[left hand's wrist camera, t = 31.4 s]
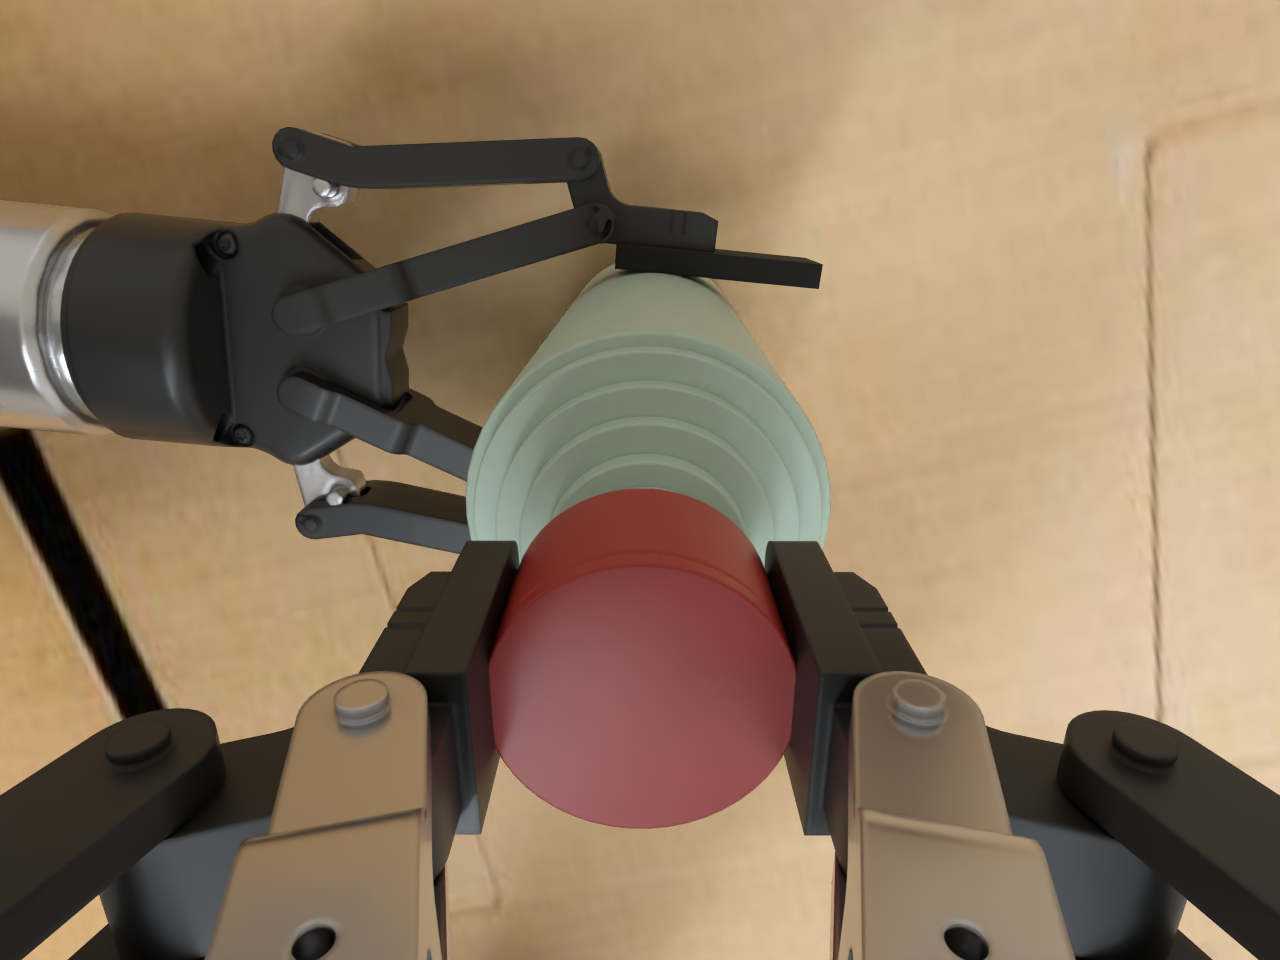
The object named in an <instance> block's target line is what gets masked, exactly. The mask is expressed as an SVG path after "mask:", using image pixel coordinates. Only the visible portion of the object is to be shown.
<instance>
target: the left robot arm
mask: <svg viewBox="0 0 1280 960" xmlns="http://www.w3.org/2000/svg"><path fill="white" fill-rule="evenodd" d="M518 567H519V552H518V546H517V543H516V541H467V542H466V543H465V545H464V547H463V549H462V551H461V553H460V555H459V557H458V559H457V561H456V563H455V565H454V567H453V569H452V571H451V572H430V573H429V574H427V575H426V576H425V577H423V578H422V579H420V580H419V581H418V582H416V583H415V584H413V585H412V586H410V587H409V588H408V589H407V591H406V592H405V594H404V596H403V598H402V599H401V601H400V603H399V605H398V606H397V611H394V613H393V615H392V617H391V618H390V620H389V622H388V626H387V628H385V629H384V630H383V632H382V634H381V636H380V637H379V639H378V641H377V643H376V644H375V646H374V648H373V649H372V651H371V653H370V655H369V656H368V658H367V660H366V662H365V663H364V665H363V667H362V668H361V670H360V672H359V674H355V675H352V676H348V677H345V678H342V679H340V680H337V681H335V682H333V683H330V684H328V685H326V686H325V687H323V688H321V689H320V690H318V691H317V692H316V693H314V694H313V695H312V696H310V697H309V698H308V699H307V701H306V702H305V703H304V704H303V705H302V707H301V708H300V710H299V712H298V715H297V717H296V721H295V725H294V727H293V728H290V729H287V730H283V731H279V732H275V733H271V734H266V735H261V736H256V737H252V738H247V739H242V740H237V741H232V742H227V743H222V744H220V742H219V737H218V733H217V729H216V725H215V722H214V721H213V720H212V718H211V717H209V716H208V715H206V714H205V713H202V712H200V711H197V710H192V709H181V708H175V709H163V710H157V711H152V712H147V713H143V714H140V715H136V716H133V717H130V718H127V719H125V720H122V721H120V722H117V723H115V724H113V725H111V726H109V727H107V728H105V729H103V730H101V731H100V732H98V733H96V734H94V735H93V736H91V737H90V738H88V739H87V740H85V741H83V742H82V743H80V744H79V745H77V746H76V747H74V748H73V749H71V750H70V751H68V752H67V753H65V754H63V755H62V756H60V757H59V758H57V759H56V760H54V761H53V762H51V763H50V764H48V765H47V766H45V767H43V768H42V769H40V770H39V771H37V772H36V773H34V774H33V775H31V776H30V777H28V778H26V779H25V780H23V781H22V782H20V783H19V784H17V785H16V786H14V787H13V788H11V789H10V790H8V791H6V792H5V793H3V794H2V795H0V960H22V959H23V958H24V957H25V956H26V955H28V954H29V953H30V952H31V951H32V950H34V949H35V948H36V947H37V946H38V945H40V944H41V943H42V942H43V941H44V940H45V939H47V938H48V937H49V936H50V935H51V934H53V933H54V932H55V931H56V930H57V929H58V928H60V927H61V926H62V925H63V924H64V923H66V922H67V921H68V920H69V919H70V918H72V917H73V916H74V915H75V914H76V913H77V912H79V911H80V910H81V909H82V908H83V907H85V906H86V905H87V904H88V903H89V902H90V901H92V900H93V899H94V898H95V897H96V896H98V895H99V896H100V899H101V902H102V905H103V908H104V911H105V914H106V917H107V920H108V924H107V925H106V926H105V927H104V928H103V929H102V930H101V931H99V932H98V933H97V934H96V935H95V936H94V937H93V938H92V939H90V940H89V941H88V942H87V943H86V944H85V945H84V946H83V947H81V948H80V949H79V950H78V951H77V952H76V953H75V954H74V955H72V956H71V957H70V958H69V959H68V960H450V930H449V894H448V876H447V867H446V861H447V859H448V856H449V853H450V849H451V846H452V842H453V839H454V835H455V834H481V832H482V828H483V824H484V820H485V816H486V811H487V807H488V803H489V799H490V795H491V791H492V787H493V783H494V779H495V775H496V771H497V767H498V763H499V758H500V754H499V753H498V751H497V749H496V747H495V742H494V730H493V718H492V705H491V693H490V681H489V667H488V660H489V657H490V653H491V650H492V648H493V645H494V641H495V638H496V635H497V632H498V628H499V625H500V622H501V619H502V616H503V613H504V610H505V607H506V604H507V600H508V597H509V594H510V591H511V588H512V585H513V582H514V579H515V576H516V572H517V569H518ZM764 568H765V571H766V574H767V577H768V580H769V583H770V586H771V589H772V592H773V595H774V598H775V601H776V604H777V608H778V611H779V614H780V617H781V620H782V623H783V626H784V629H785V632H786V635H787V638H788V641H789V644H790V648H791V651H792V654H793V657H794V660H795V663H796V678H795V690H794V702H793V714H792V726H791V737H790V743H789V745H788V747H787V749H786V751H785V753H784V757H785V761H786V765H787V769H788V773H789V776H790V780H791V784H792V788H793V792H794V796H795V800H796V804H797V808H798V812H799V816H800V820H801V824H802V828H803V832H804V835H831V838H832V841H833V844H834V848H835V858H834V867H833V876H832V894H831V930H830V960H1212V959H1211V958H1210V957H1209V956H1208V955H1206V954H1205V953H1204V952H1203V951H1202V950H1201V949H1200V948H1199V947H1197V946H1196V945H1195V944H1194V943H1193V942H1192V941H1191V940H1190V939H1188V938H1187V937H1186V936H1185V935H1184V934H1183V933H1182V932H1181V931H1179V930H1178V926H1179V923H1180V920H1181V917H1182V914H1183V911H1184V908H1185V905H1186V902H1187V900H1188V901H1190V902H1191V903H1192V904H1193V905H1194V906H1195V907H1197V908H1198V909H1199V910H1200V911H1201V912H1203V913H1204V914H1205V915H1206V916H1207V917H1209V918H1210V919H1211V920H1212V921H1213V922H1214V923H1216V924H1217V925H1218V926H1219V927H1220V928H1222V929H1223V930H1224V931H1225V932H1226V933H1227V934H1229V935H1230V936H1231V937H1232V938H1233V939H1235V940H1236V941H1237V942H1238V943H1239V944H1240V945H1242V946H1243V947H1244V948H1245V949H1246V950H1248V951H1249V952H1250V953H1251V954H1252V955H1254V956H1255V957H1256V958H1257V959H1258V960H1280V795H1278V794H1277V793H1275V792H1274V791H1272V790H1270V789H1269V788H1267V787H1266V786H1264V785H1263V784H1261V783H1260V782H1258V781H1257V780H1255V779H1254V778H1252V777H1250V776H1249V775H1247V774H1246V773H1244V772H1243V771H1241V770H1240V769H1238V768H1237V767H1235V766H1234V765H1232V764H1230V763H1229V762H1227V761H1226V760H1224V759H1223V758H1221V757H1220V756H1218V755H1217V754H1215V753H1213V752H1212V751H1210V750H1209V749H1207V748H1206V747H1204V746H1203V745H1201V744H1200V743H1198V742H1197V741H1195V740H1193V739H1192V738H1190V737H1189V736H1187V735H1185V734H1184V733H1182V732H1180V731H1178V730H1176V729H1174V728H1172V727H1170V726H1168V725H1166V724H1163V723H1161V722H1158V721H1156V720H1153V719H1150V718H1147V717H1143V716H1140V715H1136V714H1131V713H1126V712H1119V711H1107V710H1103V711H1092V712H1086V713H1083V714H1081V715H1078V716H1077V717H1075V718H1074V719H1072V720H1071V722H1070V723H1069V724H1068V727H1067V731H1066V735H1065V739H1064V743H1063V744H1059V743H1055V742H1050V741H1045V740H1040V739H1035V738H1030V737H1025V736H1021V735H1016V734H1011V733H1007V732H1003V731H1000V730H997V729H994V728H991V727H988V726H986V725H985V721H984V717H983V715H982V712H981V710H980V708H979V707H978V705H977V704H976V703H975V702H974V701H973V699H972V698H971V697H970V696H968V695H967V694H966V693H964V692H963V691H962V690H960V689H959V688H957V687H955V686H954V685H952V684H950V683H947V682H945V681H943V680H940V679H938V678H935V677H932V676H928V675H927V673H926V672H925V670H924V668H923V667H922V665H921V663H920V662H919V660H918V658H917V656H916V655H915V653H914V651H913V650H912V648H911V646H910V645H909V643H908V641H907V640H906V638H905V636H904V634H903V633H902V631H901V629H900V628H898V627H897V623H896V621H895V619H894V618H893V616H892V614H891V612H888V607H887V606H886V604H885V602H884V601H883V599H882V597H881V595H880V594H879V592H878V590H877V589H876V588H875V587H873V586H872V585H870V584H869V583H868V582H866V581H865V580H863V579H862V578H861V577H859V576H858V575H856V574H855V573H853V572H833V571H832V569H831V567H830V565H829V563H828V561H827V559H826V557H825V555H824V553H823V551H822V549H821V547H820V545H819V543H818V542H817V541H769V542H768V543H767V547H766V553H765V565H764Z"/></svg>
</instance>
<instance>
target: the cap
mask: <svg viewBox="0 0 1280 960" xmlns="http://www.w3.org/2000/svg"><path fill="white" fill-rule="evenodd" d="M488 667H489V681H490V693H491V705H492V718H493V730H494V742H495V747H496V749H497V751H498V753H499V754H500V756H501V758H502V760H503V761H504V763H505V764H506V765H507V766H508V768H509V769H510V770H511V772H512V773H513V774H514V775H515V776H516V777H517V778H518V779H519V780H520V781H521V782H522V783H523V784H524V785H525V786H526V787H527V788H528V789H529V790H531V791H532V792H533V793H534V794H536V795H537V796H538V797H540V798H541V799H542V800H544V801H546V802H547V803H549V804H551V805H552V806H554V807H556V808H558V809H560V810H562V811H564V812H566V813H568V814H571V815H573V816H575V817H578V818H581V819H584V820H587V821H590V822H594V823H599V824H603V825H608V826H614V827H623V828H660V827H669V826H675V825H680V824H685V823H689V822H692V821H695V820H699V819H702V818H705V817H707V816H710V815H712V814H714V813H717V812H719V811H721V810H723V809H725V808H727V807H729V806H730V805H732V804H734V803H736V802H737V801H739V800H740V799H742V798H743V797H744V796H746V795H747V794H749V793H750V792H751V791H753V790H754V789H755V788H756V787H757V786H758V785H759V784H760V783H761V782H762V781H763V780H764V779H765V778H767V776H768V775H769V774H770V773H771V771H772V770H773V769H774V768H775V766H776V765H777V764H778V762H779V761H780V759H781V758H782V756H783V754H784V753H785V751H786V749H787V747H788V745H789V743H790V737H791V726H792V714H793V702H794V690H795V678H796V663H795V660H794V657H793V654H792V651H791V648H790V644H789V641H788V638H787V635H786V632H785V629H784V626H783V623H782V620H781V617H780V614H779V611H778V608H777V604H776V601H775V598H774V595H773V592H772V589H771V586H770V583H769V580H768V577H767V574H766V571H765V568H764V566H763V563H762V561H761V558H760V556H759V555H758V553H757V551H756V549H755V547H754V546H753V544H752V543H751V542H750V540H749V539H748V538H747V536H746V535H745V534H744V532H743V531H742V530H741V529H740V528H739V527H738V526H737V525H736V524H735V523H734V522H732V521H731V520H730V519H729V518H727V517H726V516H725V515H723V514H722V513H721V512H719V511H718V510H716V509H714V508H713V507H711V506H709V505H707V504H706V503H704V502H702V501H699V500H697V499H694V498H692V497H689V496H687V495H683V494H679V493H675V492H671V491H665V490H660V489H654V488H652V489H635V488H634V489H625V490H616V491H610V492H607V493H603V494H599V495H597V496H594V497H591V498H588V499H586V500H583V501H581V502H579V503H577V504H575V505H574V506H572V507H570V508H568V509H566V510H565V511H563V512H562V513H560V514H559V515H558V516H556V517H555V518H554V519H552V520H551V521H550V522H549V523H548V524H547V525H546V526H545V527H544V528H543V529H542V530H541V531H540V532H539V533H538V535H537V536H536V537H535V538H534V540H533V541H532V542H531V544H530V545H529V547H528V549H527V550H526V552H525V554H524V555H523V557H522V560H521V562H520V565H519V567H518V569H517V572H516V576H515V579H514V582H513V585H512V588H511V591H510V594H509V597H508V600H507V604H506V607H505V610H504V613H503V616H502V619H501V622H500V625H499V628H498V632H497V635H496V638H495V641H494V645H493V648H492V650H491V653H490V657H489V660H488Z"/></svg>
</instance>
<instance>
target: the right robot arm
mask: <svg viewBox="0 0 1280 960" xmlns="http://www.w3.org/2000/svg"><path fill="white" fill-rule="evenodd" d="M272 145H273V152H274V155H275V157H276V159H277V160H278V161H279V163H280V164H281V165H282V166H284V167H285V168H284V174H283V181H282V187H281V194H280V201H279V207H278V213H274V214H270V215H267V216H265V217H263V218H261V219H259V220H257V221H255V222H252V223H249V224H243V223H232V222H221V221H211V220H201V219H191V218H181V217H170V216H160V215H150V214H140V213H123V214H118V215H116V216H114V215H112V214H110V213H108V212H105V211H103V210H100V209H89V208H79V207H69V206H58V205H48V204H38V203H27V202H17V201H7V200H0V426H3V427H13V428H22V429H32V430H42V431H52V432H62V433H72V434H82V435H95V436H107V435H111V434H114V433H116V434H118V435H121V436H123V437H127V438H132V439H142V440H154V441H165V442H176V443H187V444H199V445H210V446H222V447H249V448H255V449H259V450H262V451H264V452H266V453H268V454H270V455H272V456H274V457H276V458H277V459H279V460H281V461H283V462H285V463H288V464H291V465H293V466H294V470H295V473H296V477H297V480H298V484H299V487H300V490H301V494H302V497H303V501H304V504H305V507H304V508H303V509H302V510H301V511H300V512H299V513H298V514H297V516H296V519H295V523H296V527H297V529H298V531H299V532H300V533H301V534H302V535H303V536H305V537H307V538H310V539H322V538H331V537H340V536H349V535H357V534H365V535H370V536H375V537H380V538H384V539H389V540H394V541H399V542H404V543H409V544H414V545H419V546H423V547H428V548H433V549H438V550H443V551H448V552H453V553H457V554H460V553H461V551H462V549H463V547H464V545H465V543H466V542H467V541H471V537H470V532H469V526H468V521H467V512H466V497H465V496H460V495H455V494H451V493H446V492H441V491H436V490H432V489H427V488H422V487H417V486H413V485H408V484H403V483H398V482H392V481H381V480H370V481H366V480H365V478H364V477H365V476H364V474H363V473H362V472H361V471H360V470H355V469H351V468H344V467H341V466H339V465H337V464H336V463H335V462H334V461H333V460H332V459H331V457H330V453H331V452H333V451H335V450H336V449H338V448H340V447H341V446H343V445H345V444H346V443H348V442H350V441H351V440H353V439H354V438H358V439H360V440H362V441H364V442H366V443H369V444H371V445H373V446H375V447H377V448H380V449H382V450H384V451H386V452H389V453H392V454H405V455H409V456H412V457H414V458H416V459H418V460H420V461H423V462H425V463H427V464H429V465H431V466H434V467H436V468H438V469H440V470H442V471H445V472H447V473H449V474H451V475H453V476H456V477H458V478H460V479H462V480H464V481H467V477H468V470H469V466H470V462H471V458H472V454H473V450H474V447H475V445H476V442H477V440H478V438H479V435H480V433H481V430H482V427H480V426H478V425H476V424H474V423H472V422H469V421H467V420H465V419H463V418H461V417H459V416H457V415H454V414H452V413H450V412H448V411H446V410H444V409H442V408H440V407H438V406H437V405H435V403H434V402H433V401H432V400H431V399H430V398H428V397H426V396H425V395H422V394H420V393H418V392H416V391H414V390H412V389H410V388H409V369H408V365H407V362H406V358H405V354H404V351H403V343H404V339H405V336H406V332H407V328H408V303H404V302H407V301H410V300H413V299H416V298H419V297H422V296H425V295H429V294H432V293H435V292H439V291H442V290H445V289H449V288H452V287H455V286H459V285H462V284H465V283H469V282H472V281H475V280H479V279H482V278H485V277H489V276H492V275H495V274H499V273H502V272H505V271H509V270H512V269H516V268H519V267H522V266H526V265H529V264H532V263H536V262H539V261H542V260H546V259H549V258H552V257H556V256H559V255H562V254H566V253H569V252H572V251H576V250H579V249H582V248H586V247H589V246H592V245H596V244H599V243H601V244H602V243H609V244H617V247H616V259H615V269H621V270H631V271H641V272H651V273H663V274H672V275H682V276H692V277H702V278H712V279H723V280H733V281H743V282H753V283H763V284H774V285H784V286H794V287H804V288H814V289H819V283H820V278H821V272H822V266H823V265H822V264H820V263H817V262H815V261H812V260H809V259H807V258H800V257H790V256H780V255H770V254H760V253H750V252H740V251H730V250H720V249H715V243H716V235H717V227H718V221H717V220H715V219H713V218H711V217H709V216H708V215H706V214H704V213H701V212H694V211H684V210H674V209H664V208H654V207H645V206H635V205H628V204H624V203H622V202H620V201H619V200H618V199H617V198H616V197H615V196H614V195H613V193H612V192H611V189H610V187H609V183H608V179H607V175H606V172H605V168H604V164H603V159H602V155H601V153H600V151H599V150H598V148H597V147H596V146H595V145H594V144H593V143H592V142H590V141H589V140H587V139H585V138H579V137H575V138H551V139H526V140H502V141H477V142H453V143H429V144H404V145H380V146H360V145H357V144H354V143H351V142H348V141H345V140H343V139H340V138H337V137H334V136H331V135H328V134H324V133H319V132H313V131H308V130H303V129H298V128H291V127H286V128H283V129H280V130H279V131H278V132H277V133H276V134H275V136H274V139H273V142H272ZM559 182H567V184H568V188H569V191H570V195H571V199H572V202H573V206H574V209H571V210H568V211H564V212H561V213H558V214H555V215H551V216H548V217H545V218H541V219H538V220H535V221H532V222H528V223H525V224H522V225H518V226H515V227H512V228H509V229H505V230H502V231H499V232H495V233H492V234H489V235H486V236H482V237H479V238H476V239H473V240H469V241H466V242H463V243H459V244H456V245H453V246H450V247H446V248H443V249H440V250H436V251H433V252H430V253H427V254H423V255H420V256H417V257H413V258H410V259H407V260H403V261H400V262H397V263H393V264H390V265H387V266H384V267H380V268H377V269H376V268H375V267H374V266H372V265H371V264H370V263H369V262H368V261H366V260H365V259H364V258H363V257H361V256H360V255H359V254H358V253H357V252H355V251H354V250H353V249H352V248H351V247H349V246H348V245H347V244H346V243H344V242H343V241H342V240H341V239H340V238H338V237H337V236H336V235H335V234H334V233H332V232H331V231H330V230H329V229H327V228H326V227H325V226H324V225H323V224H321V223H320V222H319V220H320V217H321V214H322V213H323V212H324V210H326V209H327V208H329V207H345V206H349V205H351V204H352V203H354V201H355V200H356V199H357V196H358V193H359V188H369V189H410V188H435V187H460V186H484V185H509V184H534V183H559Z"/></svg>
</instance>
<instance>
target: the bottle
mask: <svg viewBox="0 0 1280 960" xmlns="http://www.w3.org/2000/svg"><path fill="white" fill-rule="evenodd" d="M634 488H635V489H652V488H654V489H660V490H665V491H671V492H675V493H679V494H683V495H687V496H689V497H692V498H694V499H697V500H699V501H702V502H704V503H706V504H707V505H709V506H711V507H713V508H714V509H716V510H718V511H719V512H721V513H722V514H723V515H725V516H726V517H727V518H729V519H730V520H731V521H732V522H734V523H735V524H736V525H737V526H738V527H739V528H740V529H741V530H742V531H743V532H744V534H745V535H746V536H747V538H748V539H749V540H750V542H751V543H752V544H753V546H754V547H755V549H756V551H757V553H758V555H759V556H760V558H761V561H762V563H763V566H764V565H765V553H766V547H767V543H768V542H769V541H817V542H818V543H819V545H820V547H821V549H822V550H823V547H824V543H825V540H826V536H827V532H828V526H829V518H830V511H831V494H830V481H829V475H828V468H827V463H826V460H825V457H824V453H823V450H822V447H821V444H820V441H819V439H818V437H817V435H816V433H815V431H814V428H813V426H812V424H811V422H810V421H809V419H808V417H807V416H806V414H805V413H804V411H803V410H802V408H801V407H800V405H799V404H798V402H797V401H796V399H795V398H794V396H793V395H792V393H791V392H790V391H789V389H788V388H787V386H786V385H785V383H784V382H783V380H782V379H781V378H780V376H779V375H778V373H777V372H776V370H775V369H774V367H773V366H772V364H771V363H770V362H769V360H768V359H767V357H766V356H765V354H764V353H763V351H762V350H761V348H760V347H759V346H758V344H757V343H756V341H755V340H754V338H753V337H752V335H751V334H750V332H749V331H748V330H747V328H746V327H745V325H744V324H743V322H742V321H741V319H740V318H739V316H738V315H737V314H736V312H735V311H734V309H733V308H732V306H731V305H730V303H729V302H728V301H727V299H726V298H725V296H724V295H723V293H722V292H721V290H720V289H719V288H718V287H717V285H716V284H715V283H714V282H713V281H712V280H711V279H710V278H702V277H692V276H682V275H672V274H663V273H651V272H641V271H631V270H621V269H615V263H614V264H612V265H611V266H609V267H607V268H605V269H604V270H602V271H601V272H600V273H598V274H597V275H596V276H595V277H594V278H593V279H592V280H591V281H590V282H588V283H587V285H586V286H585V287H584V289H583V290H582V291H581V292H580V294H579V295H578V296H577V298H576V299H575V300H574V302H573V303H572V304H571V306H570V307H569V308H568V310H567V311H566V312H565V314H564V315H563V316H562V318H561V319H560V321H559V322H558V323H557V325H556V326H555V327H554V329H553V330H552V331H551V333H550V334H549V335H548V337H547V338H546V339H545V341H544V342H543V343H542V345H541V346H540V347H539V349H538V350H537V351H536V353H535V354H534V355H533V357H532V358H531V359H530V361H529V362H528V363H527V365H526V366H525V367H524V369H523V370H522V371H521V373H520V374H519V376H518V377H517V378H516V380H515V381H514V382H513V384H512V385H511V386H510V388H509V389H508V390H507V392H506V393H505V394H504V396H503V397H502V398H501V400H500V401H499V402H498V404H497V405H496V406H495V408H494V409H493V411H492V413H491V414H490V416H489V418H488V419H487V421H486V423H485V425H484V426H483V428H482V430H481V433H480V435H479V438H478V440H477V442H476V445H475V447H474V450H473V454H472V458H471V462H470V466H469V470H468V477H467V487H466V512H467V521H468V526H469V532H470V537H471V541H516V543H517V546H518V552H519V565H520V562H521V560H522V557H523V555H524V554H525V552H526V550H527V549H528V547H529V545H530V544H531V542H532V541H533V540H534V538H535V537H536V536H537V535H538V533H539V532H540V531H541V530H542V529H543V528H544V527H545V526H546V525H547V524H548V523H549V522H550V521H551V520H552V519H554V518H555V517H556V516H558V515H559V514H560V513H562V512H563V511H565V510H566V509H568V508H570V507H572V506H574V505H575V504H577V503H579V502H581V501H583V500H586V499H588V498H591V497H594V496H597V495H599V494H603V493H607V492H610V491H616V490H625V489H634Z"/></svg>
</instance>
